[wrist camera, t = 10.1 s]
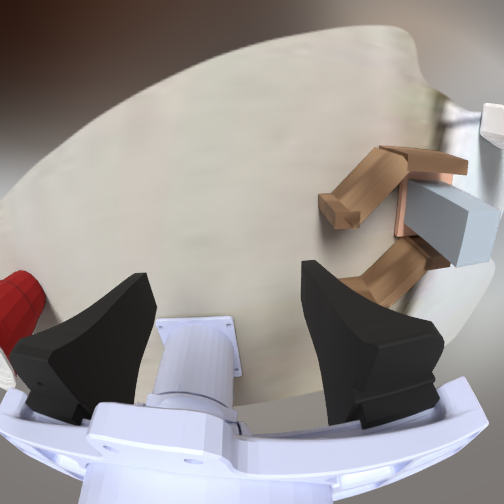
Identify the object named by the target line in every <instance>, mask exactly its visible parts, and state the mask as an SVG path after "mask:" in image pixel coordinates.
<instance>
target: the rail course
mask: <svg viewBox="0 0 504 504" xmlns="http://www.w3.org/2000/svg"><path fill="white" fill-rule="evenodd" d="M467 169H468V160H465V159H462V158H459V157H456V156H453V155H449V154H446V153H443V152H439V151H435V150H427V149H417V148H407V147H395V146H379V148H374V149H373V150H372V151H371V152H370V153H369V154H368V155H367V156H366V157H365V158H364V159H363V160H362V161H361V162H360V163H359V165H358V166H357V167H356V168H355V169H354V170H353V171H352V172H351V173H350V174H349V175H348V176H347V177H346V178H345V179H344V180H343V181H342V182H341V183H340V184H339V186H338V187H337V188H336V189H335V190H334V191H333V192H332V193H327V194H318V208H319V210H320V211H321V212H322V213H323V215H324V216H325V217H326V219H327V220H328V221H329V222H330V224H331V225H332V226H333V228H334V229H350V228H353V229H354V230H355V229H356V228H359V227H360V224H361V223H362V222H363V221H364V220H365V219H366V218H367V217H368V215H369V214H370V213H371V212H372V211H373V210H374V209H375V208H376V207H377V206H378V205H379V204H380V203H381V202H382V201H383V200H384V199H385V198H386V197H387V196H388V195H389V193H390V192H391V191H392V190H393V189H394V188H395V187H396V186H397V185H398V184H399V183H400V182H401V180H402V179H403V178H404V177H405V176H406V175H407V174H408V173H409V172H410V171H418V172H434V173H447V174H458V175H467ZM450 264H451V262H449V261H448V260H447V259H446V258H445V257H444V256H443V255H442V254H441V253H439V252H438V251H437V250H436V249H435V248H434V247H432V246H431V245H430V244H429V243H428V242H427V241H425V240H424V239H423V238H422V237H421V236H419V235H413V236H401V237H400V238H399V239H398V240H397V241H396V242H395V243H394V244H393V245H392V246H391V247H390V248H389V249H388V250H387V251H386V252H385V253H384V254H383V255H382V256H381V257H380V258H379V259H378V260H377V261H376V262H375V263H374V264H373V265H372V266H371V267H370V268H369V269H368V270H367V271H366V272H365V273H364V274H362V275H361V276H359V277H351V278H342V279H338V280H340V281H341V282H342V283H344V284H345V285H347V286H348V287H349V288H351V289H352V290H354V291H355V292H357V293H358V294H360V295H362V296H364V297H365V298H367V299H369V300H371V301H373V302H375V303H377V304H379V305H381V306H383V307H386V308H388V309H389V307H390V306H391V305H393V304H394V303H395V302H396V301H397V300H398V299H399V298H400V297H401V296H402V295H403V294H405V293H406V292H407V291H408V290H409V289H410V288H411V287H412V286H413V285H414V284H415V283H416V282H417V281H418V280H419V279H420V278H421V277H422V276H423V275H424V274H425V273H426V272H427V271H428V270H433V269H440V268H446V267H450Z"/></svg>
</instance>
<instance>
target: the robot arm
mask: <svg viewBox="0 0 504 504" xmlns="http://www.w3.org/2000/svg"><path fill="white" fill-rule="evenodd" d="M301 302H302V307H303V312H304V317H305V320H306V323H307V326H308V329H309V332H310V335H311V338H312V341H313V344H314V347H315V350H316V353H317V357H318V361H319V366H320V371H321V376H322V382H323V388H324V394H325V401H326V407H327V415H328V424H329V426H327V427H321V428H314V429H307V430H300V431H292V432H283V433H271V434H256V435H252V432H251V430H250V429H249V428H248V427H247V425H246V423H244V422H239V421H237V411H236V410H233V377H240V376H242V369H241V364H240V358H239V352H238V346H237V340H236V333H235V327H234V321H233V318H232V317H231V316H215V317H194V318H160V319H157V320H156V322H155V324H156V327H157V330H158V332H159V335H160V337H161V340H162V343H163V345H164V351H163V354H162V358H161V362H160V365H159V369H158V373H157V377H156V381H155V384H154V388H153V392H152V394H150V393H149V394H148V397H147V401H146V404H144V403H141V402H138V403H136V404H135V405H134V397H135V390H136V383H137V377H138V372H139V367H140V363H141V360H142V357H143V354H144V351H145V348H146V345H147V342H148V339H149V336H150V334H151V331H152V328H153V325H154V320H155V315H156V310H157V305H156V302H155V299H154V296H153V293H152V290H151V287H150V284H149V280H148V277H147V274H146V273H135V274H133V275H131V276H130V277H128V278H127V279H126V280H124V281H123V282H122V283H120V284H119V285H118V286H117V287H115V288H114V289H113V290H111V291H110V292H109V293H108V294H106V295H105V296H104V297H102V298H101V299H100V300H98V301H97V302H96V303H94V304H93V305H92V306H90V307H89V308H87V309H86V310H84V311H82V312H81V313H79V314H78V315H76V316H74V317H72V318H71V319H69V320H67V321H65V322H63V323H61V324H59V325H57V326H55V327H52V328H50V329H48V330H45V331H42V332H40V333H37V334H34V335H30V336H27V337H24V338H20V339H19V341H18V342H17V344H16V345H15V347H14V348H13V350H12V351H11V353H10V354H9V360H10V363H11V365H12V367H13V369H14V370H15V372H16V373H17V374H18V376H19V377H20V378H21V379H22V381H23V382H24V383H25V384H26V385H27V387H28V388H29V389H30V390H31V391H30V393H29V395H27V394H26V393H25V392H23V391H20V390H18V389H15V388H12V387H9V389H8V391H7V393H6V395H5V397H4V399H3V401H2V403H1V405H0V434H1V435H2V436H4V437H5V438H6V439H7V440H8V441H10V442H11V443H12V444H13V445H15V446H16V447H17V448H18V449H20V450H21V451H22V452H24V453H25V454H27V455H29V456H31V457H32V458H34V459H36V460H38V461H40V462H42V463H44V464H46V465H48V466H50V467H52V468H54V469H56V470H58V471H60V472H63V473H65V474H67V475H69V476H72V477H74V478H76V479H79V480H81V481H83V485H82V490H81V494H80V498H79V503H78V504H333V501H335V500H339V499H343V498H347V497H351V496H354V495H358V494H361V493H364V492H367V491H370V490H373V489H376V488H379V487H382V486H385V485H387V484H390V483H392V482H395V481H398V480H400V479H402V478H405V477H407V476H410V475H412V474H414V473H416V472H419V471H421V470H423V469H425V468H427V467H429V466H431V465H433V464H436V463H438V462H440V461H442V460H444V459H445V458H448V457H450V456H452V455H453V454H455V453H457V452H458V451H459V450H461V449H462V448H463V447H464V446H466V445H467V444H468V443H469V442H470V441H471V440H472V439H474V438H475V437H476V436H477V435H478V434H479V433H480V432H481V431H482V430H483V429H485V428H486V426H488V424H489V422H488V420H487V418H486V416H485V414H484V412H483V410H482V408H481V406H480V404H479V402H478V400H477V399H476V396H475V394H474V393H473V391H472V389H471V387H470V386H469V384H468V382H467V380H466V378H465V377H464V376H462V377H459V378H457V379H455V380H452V381H450V382H447V383H445V384H443V385H441V386H440V387H438V388H437V389H435V387H434V385H433V383H434V382H435V377H434V375H433V373H432V371H433V369H434V367H435V366H436V364H437V362H438V360H439V358H440V356H441V354H442V352H443V349H444V340H443V337H442V336H441V334H440V333H439V331H438V330H437V328H436V327H435V326H434V324H433V323H432V322H431V321H427V320H423V319H419V318H415V317H411V316H407V315H404V314H401V313H398V312H395V311H393V310H390V309H388V308H386V307H383V306H381V305H379V304H377V303H375V302H373V301H371V300H369V299H367V298H365V297H364V296H362V295H360V294H358V293H357V292H355V291H354V290H352V289H351V288H349V287H348V286H347V285H345V284H344V283H342V282H341V281H340V280H338V279H337V278H336V277H335V276H333V275H332V274H331V273H330V272H329V271H327V270H326V269H325V268H324V267H323V266H322V265H320V264H319V263H318V262H317V261H316V260H308V261H302V264H301ZM227 324H231V325H227ZM160 326H162V327H160Z"/></svg>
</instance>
